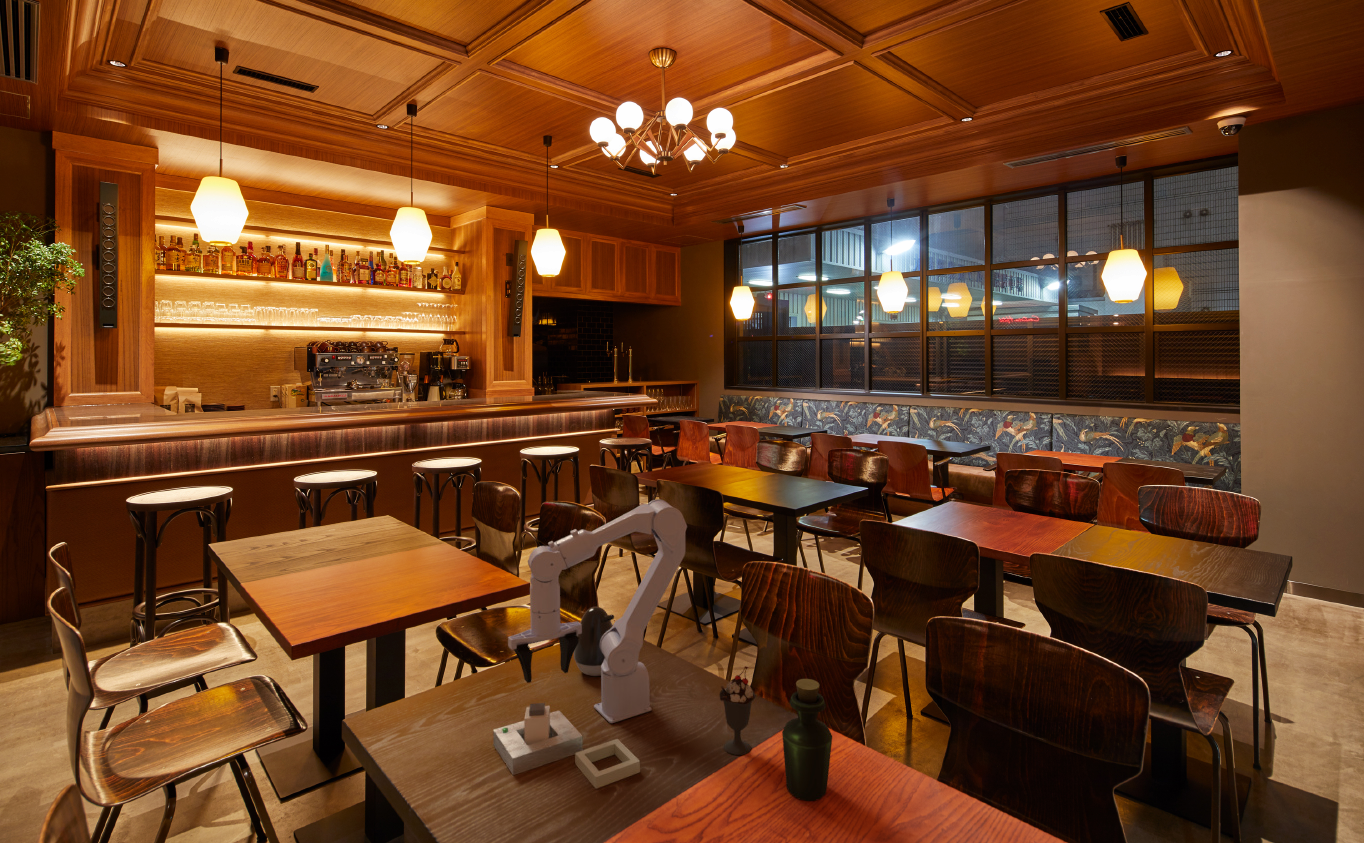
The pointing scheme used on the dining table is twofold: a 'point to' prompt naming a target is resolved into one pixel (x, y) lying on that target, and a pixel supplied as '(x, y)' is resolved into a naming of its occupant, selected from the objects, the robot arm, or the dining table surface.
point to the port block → (537, 744)
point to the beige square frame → (608, 775)
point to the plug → (537, 723)
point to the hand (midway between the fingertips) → (546, 675)
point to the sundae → (737, 712)
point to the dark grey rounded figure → (592, 641)
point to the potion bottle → (807, 744)
